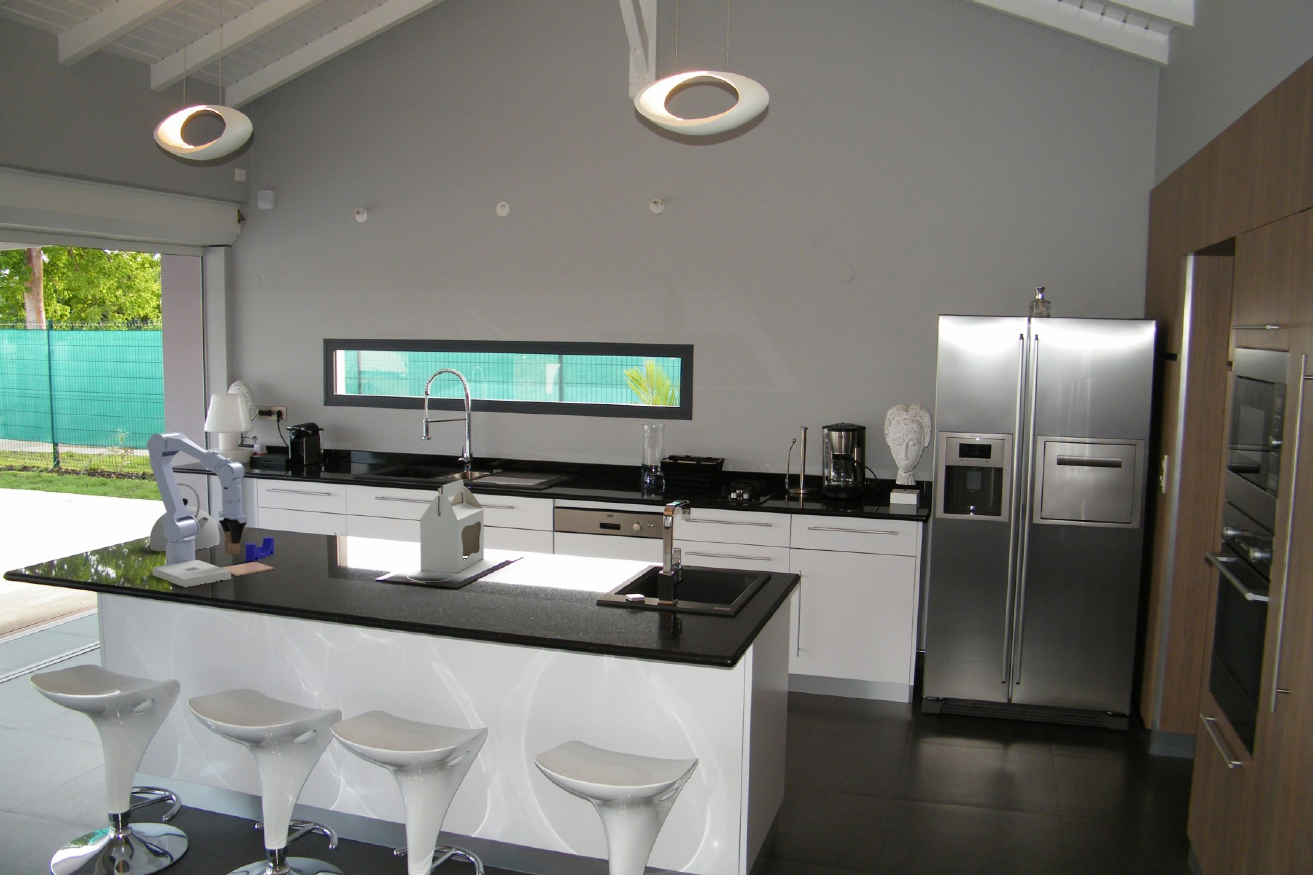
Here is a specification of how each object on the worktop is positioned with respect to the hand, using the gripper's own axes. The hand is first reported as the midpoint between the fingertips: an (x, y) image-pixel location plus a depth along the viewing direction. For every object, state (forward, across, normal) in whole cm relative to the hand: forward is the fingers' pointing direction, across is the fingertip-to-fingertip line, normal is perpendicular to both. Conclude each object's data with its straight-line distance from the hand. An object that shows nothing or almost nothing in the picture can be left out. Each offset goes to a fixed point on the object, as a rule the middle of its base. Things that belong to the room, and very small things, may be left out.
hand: (233, 542), depth 297 cm
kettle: (+10, -49, +7) cm, 51 cm away
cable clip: (+10, -14, +15) cm, 22 cm away
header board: (+9, -2, -12) cm, 16 cm away
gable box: (+10, +42, +54) cm, 69 cm away
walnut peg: (+3, 0, 0) cm, 4 cm away
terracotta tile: (+10, 0, +4) cm, 10 cm away
